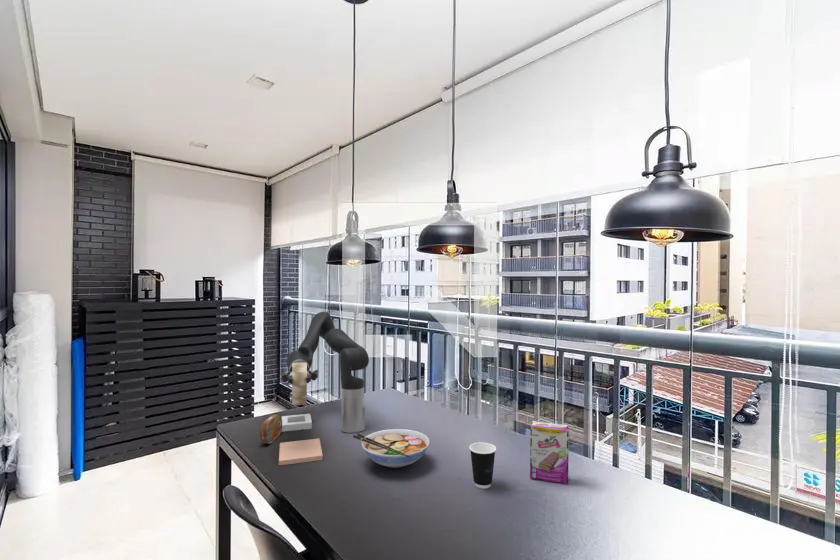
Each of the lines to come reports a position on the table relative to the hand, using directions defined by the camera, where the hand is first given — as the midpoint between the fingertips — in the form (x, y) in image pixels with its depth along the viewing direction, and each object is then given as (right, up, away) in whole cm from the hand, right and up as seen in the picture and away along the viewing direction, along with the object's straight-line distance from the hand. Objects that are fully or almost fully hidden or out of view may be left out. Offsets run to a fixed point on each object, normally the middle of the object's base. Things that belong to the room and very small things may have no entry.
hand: (299, 380), depth 142 cm
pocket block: (-10, -26, +30) cm, 41 cm away
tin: (-15, -26, +14) cm, 33 cm away
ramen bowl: (+34, -26, -7) cm, 43 cm away
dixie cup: (+61, -26, -21) cm, 69 cm away
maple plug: (-1, -8, +3) cm, 9 cm away
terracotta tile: (0, -26, +1) cm, 26 cm away
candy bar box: (+82, -26, -18) cm, 87 cm away
